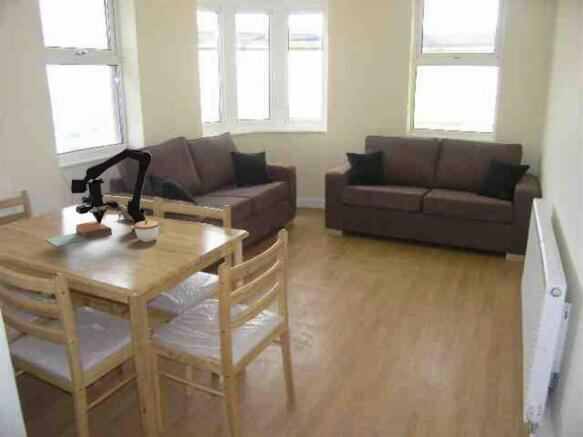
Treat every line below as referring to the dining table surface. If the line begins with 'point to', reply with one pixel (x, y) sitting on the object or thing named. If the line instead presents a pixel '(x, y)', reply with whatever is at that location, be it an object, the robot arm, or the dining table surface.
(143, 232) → the lidded jar
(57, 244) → the mat
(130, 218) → the decorative bird
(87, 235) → the block
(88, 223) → the reddish orange flat block
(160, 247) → the dining table surface
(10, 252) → the dining table surface
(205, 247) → the dining table surface
